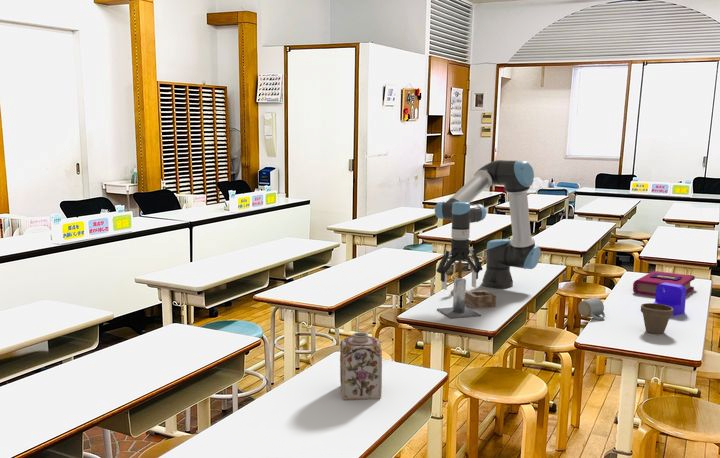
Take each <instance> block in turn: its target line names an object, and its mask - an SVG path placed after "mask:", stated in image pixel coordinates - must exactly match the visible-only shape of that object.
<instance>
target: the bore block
mask: <svg viewBox="0 0 720 458" xmlns="http://www.w3.org/2000/svg"><path fill="white" fill-rule="evenodd" d="M496 303H497V295H495V294H494V293H492V292H489V291H487V290H486V289H484V290H470V291H468V290H467V292H465V305H468V306H470V307H471V308H473V309H482V308H493V307H495V308H496V307H497V306H496V305H497V304H496Z"/></svg>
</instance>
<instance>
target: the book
mask: <svg viewBox="0 0 720 458" xmlns="http://www.w3.org/2000/svg"><path fill="white" fill-rule="evenodd" d="M695 279H696V275H693V274H692V275H691V274H681V273H674V272H666V271H665V272H664V271H658V270H653V271H650V272H649V273H648V274H645V275H643V276H642V277H640V278H638V279H636V280H634V281H633V282H632V292H633V294H638V295H643V296H644V295H645V296H650V297H656V287H657V285H659V284H662V283H671V284H677V285H682V286H684V287H685V288H686V296H687V295H688V294H690V292H693V291H694V290H695V286H692V285H691V282H692V281H694V280H695ZM663 289H664V291H665V288H664V287H663Z"/></svg>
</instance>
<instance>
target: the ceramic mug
mask: <svg viewBox="0 0 720 458" xmlns="http://www.w3.org/2000/svg"><path fill="white" fill-rule="evenodd" d="M577 309H578V313H579V314H580V316H582V317H583V318H593V319H594V320H597V321H603V320H604V319H605V317H606V314H605V305H604V302H603V301H602V299H600V298H599V297H596V296H595V297H594V296H593V297H591V298H588V299H584V300H581V301H580V302H578V305H577Z"/></svg>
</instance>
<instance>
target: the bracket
mask: <svg viewBox="0 0 720 458" xmlns="http://www.w3.org/2000/svg"><path fill="white" fill-rule="evenodd" d="M663 287H664V288H665V291H664V289H663ZM686 297H687V295H686V288H685V287H684V286H682V285H677V284H671V283H662V284H659V285H657V287H656V296H654V298H655V299H654V301H653V303H655V304H663V305H667V306H670V307H672V308H673V315H672V316H671V317H674V316H678V315H679V316H680V315H682V314H685V312H686V311H685V310H686V301H687V300H686V299H687V298H686Z"/></svg>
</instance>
